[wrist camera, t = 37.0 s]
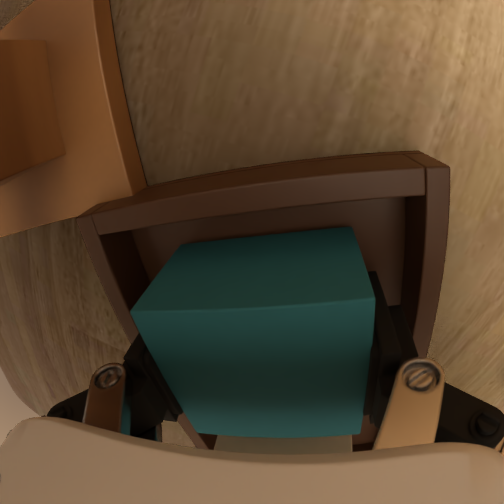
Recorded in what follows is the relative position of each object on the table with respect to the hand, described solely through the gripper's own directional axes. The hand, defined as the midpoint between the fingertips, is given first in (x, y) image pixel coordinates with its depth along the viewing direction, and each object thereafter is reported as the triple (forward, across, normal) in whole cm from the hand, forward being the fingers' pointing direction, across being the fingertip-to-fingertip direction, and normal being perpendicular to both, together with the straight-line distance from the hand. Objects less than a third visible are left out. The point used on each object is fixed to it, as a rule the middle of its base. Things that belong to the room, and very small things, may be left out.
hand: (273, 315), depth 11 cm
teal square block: (+1, 0, 0) cm, 1 cm away
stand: (+1, +9, -10) cm, 13 cm away
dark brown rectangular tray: (+1, 0, +4) cm, 4 cm away
